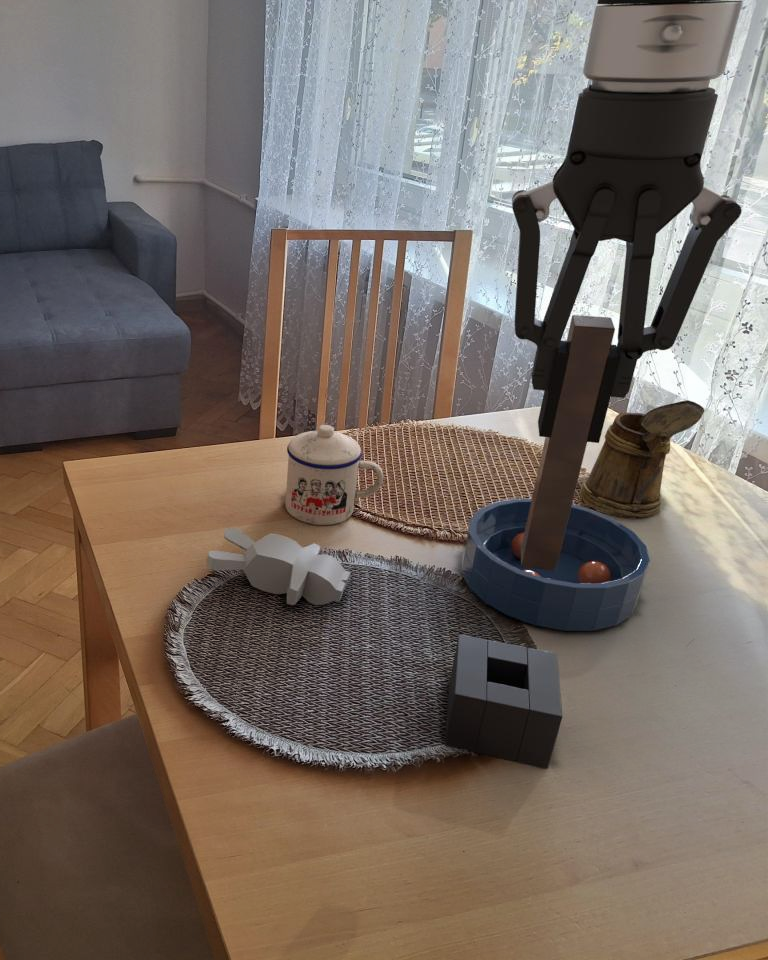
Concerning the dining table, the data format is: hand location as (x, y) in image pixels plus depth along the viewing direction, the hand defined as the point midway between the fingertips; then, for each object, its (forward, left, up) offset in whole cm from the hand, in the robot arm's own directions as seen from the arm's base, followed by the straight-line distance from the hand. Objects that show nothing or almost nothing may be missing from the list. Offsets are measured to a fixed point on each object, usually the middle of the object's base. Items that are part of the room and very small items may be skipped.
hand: (567, 431), depth 64 cm
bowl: (-5, -23, -29) cm, 38 cm away
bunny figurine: (+23, -14, -29) cm, 40 cm away
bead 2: (-2, -20, -27) cm, 33 cm away
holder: (0, +1, -29) cm, 29 cm away
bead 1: (-2, -27, -27) cm, 38 cm away
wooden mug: (-15, -43, -29) cm, 54 cm away
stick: (0, 0, -12) cm, 12 cm away
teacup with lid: (+20, -32, -29) cm, 48 cm away
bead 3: (-9, -23, -27) cm, 37 cm away
